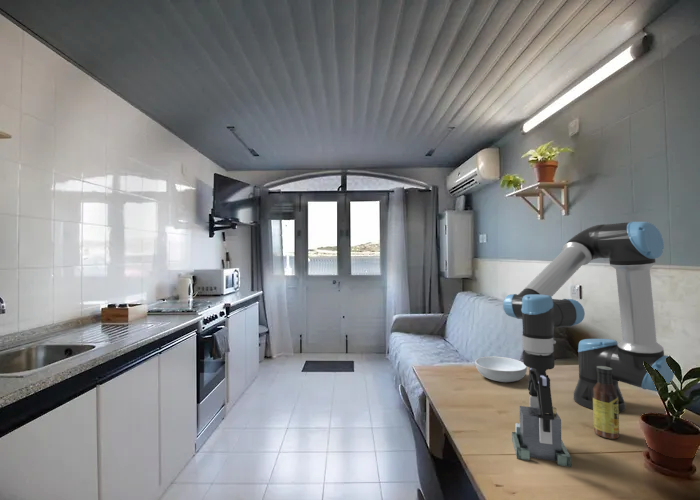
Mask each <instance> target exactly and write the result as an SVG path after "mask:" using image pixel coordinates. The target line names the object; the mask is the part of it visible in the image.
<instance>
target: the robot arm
mask: <svg viewBox="0 0 700 500" xmlns="http://www.w3.org/2000/svg"><path fill="white" fill-rule="evenodd" d="M664 249H665V245H664V239H663V236H662V234H661V231H660V230H659V228H658V227H657V226H656V225H655V224H654V223H652V222H648V221H626V222H618V223H607V224H605V223H604V224H597V225H592V226H590V227H587V228H586V229H584V230H582V231H580V232H578V233H576V234H575V235H574V236H572V237H571V238H570V239H569V240H568V241H567V242H566V243H565V244H563V246H562V249H561V252H560V253H559V254H558V255H557V256H556V257H555V258H554V259H553V260H552V261H551V262H550V263H549V264H548V265H547V266H546V267H544V269H543V270H541V272H540V273H539V274H537V276H536V277H535V278H534V279H532V281H531V282H529V283H528V285H527V286H525V287H524V289H523V290H522V291H520V292H519V293H518V294H517V293H512V294H508V295H506V296H505V297H504V300H503V301H502V308H503V311H504V314H506V315H507V316H508V317H511V318H515V319H518V320H521V321H522V339H521V340H522V349H523V353H522V359H523V361H522V362H523V363H524V365H525V366H527V368H528V370H529V371H528V383H527V390H528V394H529V407H534V408H539V410H540V415H537V417H538V418H539V431H540V443H545V444H552V420H554V415H553V407H554V406H553V400H552V393H551V392H552V391H551V379H550V377H549V375H548V374H547V370H552V369H554V368H555V355H554V351H555V348H554V347H555V346H554V345H556V343H557V341H556V340H555V339H554V329H556V328H564V327H573V326H575V325H578V324H580V323H582V321H584V318H585V314H586V313H585V309H584V306H583V305H582V304H581V303H580V302H579V301H577V300H576V299H573V298H572V299H571V298H563V299H557V298H553V296H554V295H555V294H556V293H557V292H558V291H560V289H561V288H562V287H563V286H564V285H565V283H567V281H568V280H570V279H571V278H572V276H573V275H574V274H575V273H576V272H577V271H578V270H579V269H580V268H581V267H582V266H586V265H588V264H589V263H591V261H593V260H596V259H608V260H609V265H610V266H611V267H612V268H613V269H615V273H616V284H617V294H618V305H619V315H620V316H619V317H620V325H621V326H620V327H621V336H622V339H621V340H620V342H618V341H617V340H615V339H609V338H584V339H581V340H580V341H579V342H578V347H577V348H578V349H577V352H578V381H577V384H576V385H575V389H574V391H573V401H574V402H575V403H577V404H578V405H580V406H583V407H584V408H588V409H591V410H593V388H594V386H595V385H596V383H597V382H598V381H597V371H596V367H597V366H606V367H610V368H612V369H613V374H612V381H613V385H614V388H615V390H616V392H617V395H618V407H619V413H621V412H623V411H625V410H626V402H625V400H624V397H623V394H622V392H621V389H620V387H619V382H620V383H624V384H628V385H632V386H634V387H637V388H640V389H641V388H642V389H643V390H648V391H653V392H657V390H656V388H655V385H654V383H653V381H652V379H651V377H650V375H649V374H648V372H647V371H646V369H645V367H644V365H643V361H645V362H646V363H647V364H649V365H650V366H651V367H652V368H654V369H656V370H658V371H659V373H660V374H661V375H662V376H663V377H664V379H665V380H666V382H667V383H670V381H671V382H672V381H673V378H674V377H675V376H674V375H675V373H674V374H673V372H672V371H671V369H670V367H669V366H668V365H667V363H666V358H667V357H670V356H669V355H665V350H664V346H662V345H661V344H660V343H658V341H657V334H656V333H657V332H656V330H657V329H656V321H655V309H654V300H653V288H652V277H651V268H652V267H653V266H654V265H656V263H657V262H656V259H658V258H660V257H661V256H662V255H663V253H664ZM670 384H671V383H670ZM552 406H553V407H552ZM545 413H548V414H545Z"/></svg>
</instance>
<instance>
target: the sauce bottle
mask: <svg viewBox="0 0 700 500" xmlns="http://www.w3.org/2000/svg"><path fill="white" fill-rule="evenodd" d="M596 371H597V381H598V382H597V383H596V385H595V386H594V388H593V409H592V414H593V415H592V417H593V418H592V420H593V430H594V434H596V435H597V436H599V437H601V438H604V439H610V440H616V439H618V438H619V435H620V418H619V417H620V415H619V413H620V412H619V407H618V395H617V392H616V390H615V388H614V385H613V381H612V374H613V369H612V368H610V367H606V366H597V367H596Z"/></svg>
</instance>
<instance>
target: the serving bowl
mask: <svg viewBox="0 0 700 500" xmlns="http://www.w3.org/2000/svg"><path fill="white" fill-rule="evenodd" d="M474 363H475V367H476V370H477V371H478V373H479V374H480V375H482V377H484V378H487V379H489V380H491V381H495V382H499V383H511V382H517V381H520V380H521V379H523V378H524V377H525V376H526V374H527V370H528V367H527V366H525V365H524V363H523V361H521V360H519V359H516V358H515V359H514V358H510V357H505V356H493V355H490V356H483V357H478V358H476V359H475V361H474Z"/></svg>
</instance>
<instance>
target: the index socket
mask: <svg viewBox="0 0 700 500" xmlns="http://www.w3.org/2000/svg"><path fill="white" fill-rule="evenodd" d="M511 438H512V439H511V441H512V444H513V448H514V452H515V455H516V459H518V460H523V461H530V458H531V457H530V451H529V449H526V448H521V446H520V433H516V432H515V431H514V432H513V431H512V432H511ZM561 447H562V454H560V453H557V461H556V464H557V466H561V467H562V466H563V467H569V468H572V456H571V454H570V453H569V450H568V449H567V447H566V445H565V443H564V442H563V440H562V439H561Z"/></svg>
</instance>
